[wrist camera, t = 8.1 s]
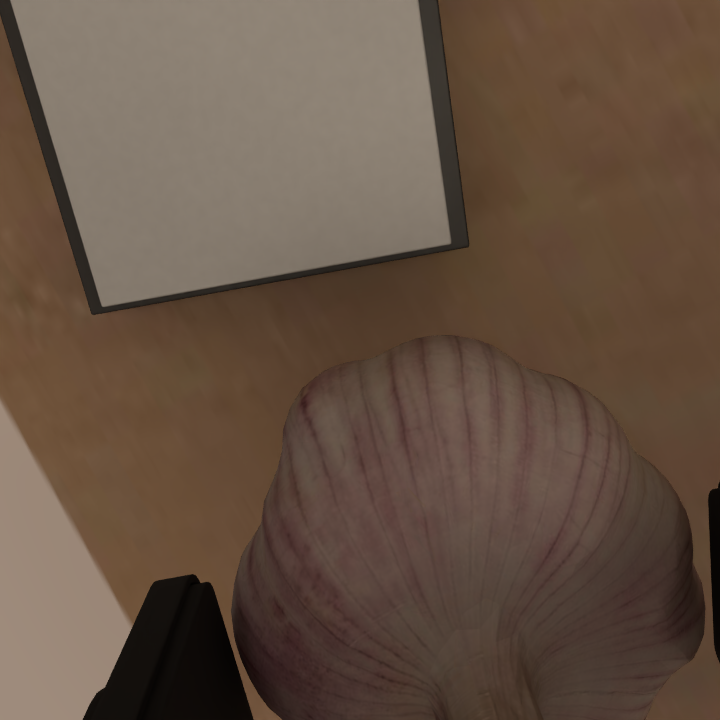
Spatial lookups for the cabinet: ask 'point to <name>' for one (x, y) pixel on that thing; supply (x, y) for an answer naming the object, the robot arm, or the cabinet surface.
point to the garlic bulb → (463, 550)
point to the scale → (239, 138)
